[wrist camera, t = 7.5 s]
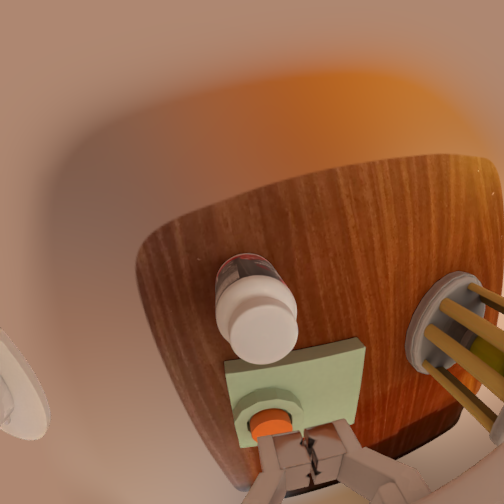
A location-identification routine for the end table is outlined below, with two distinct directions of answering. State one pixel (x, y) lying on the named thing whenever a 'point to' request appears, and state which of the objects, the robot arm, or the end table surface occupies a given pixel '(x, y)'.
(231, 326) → the pill bottle
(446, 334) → the lantern
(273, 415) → the press button
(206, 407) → the end table surface
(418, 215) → the end table surface
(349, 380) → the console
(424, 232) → the end table surface
